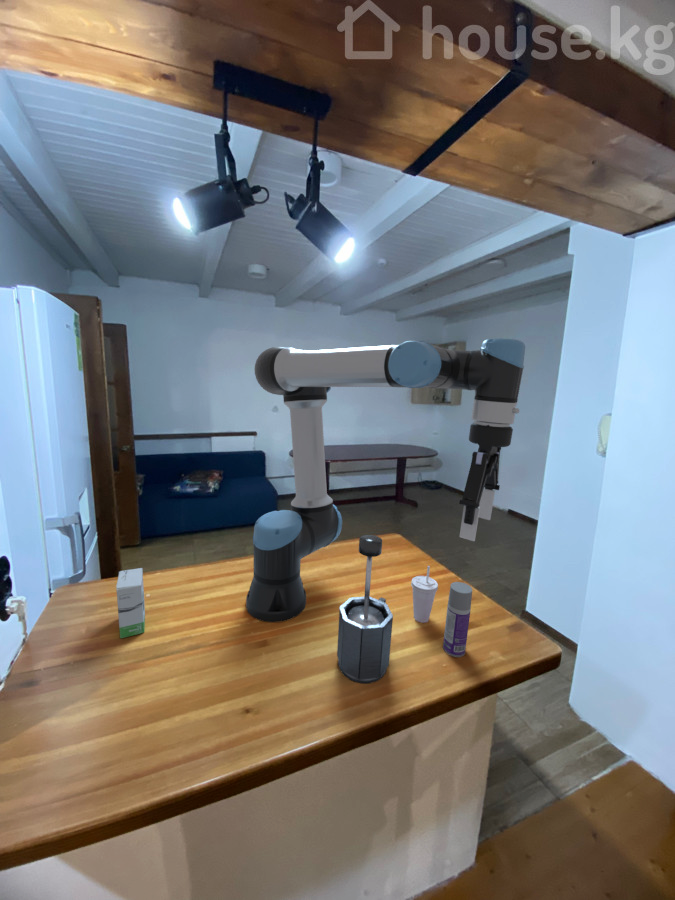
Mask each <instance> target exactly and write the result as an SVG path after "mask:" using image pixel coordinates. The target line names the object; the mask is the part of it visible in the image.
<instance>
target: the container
mask: <svg viewBox="0 0 675 900" xmlns="http://www.w3.org/2000/svg"><path fill="white" fill-rule="evenodd" d="M449 587H450V588H449V593H448V601H447V608H446V616H445V618H446V619H445V626H444V634H443V643H442V644H443V646H442V649H443V651H444V652H445V653H446V654H448V655H449V656H450V657H454V658H461V657H463V656H465V654H466V649H467V642H468V641H467V640H468V634H469V633H468V632H469V625H470V616H471V610H472V609H471V607H472V599H473V587H472V586H471V585H469V584H467V583H465V582H463V581H462V582H460V581H455V582H452V583H450V586H449Z"/></svg>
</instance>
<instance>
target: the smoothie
mask: <svg viewBox="0 0 675 900" xmlns="http://www.w3.org/2000/svg"><path fill="white" fill-rule="evenodd" d="M426 569H427V570H426V575H417V576H415V577H412V579H411V583H410V584H411V585H410V586H411V587H412V605H413V607H412V608H413V611H412V612H413V619H414V621H416V622H418V623H423V624H424V623H428V622H430V621H429V620H430V616H431V614H432V609H433V604H434V600H435V597H436V593H437V592H438V590H439V584H438V581H436V580H435V579H434V578H432V577H430V569H431V566H430V565H427V568H426Z"/></svg>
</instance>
